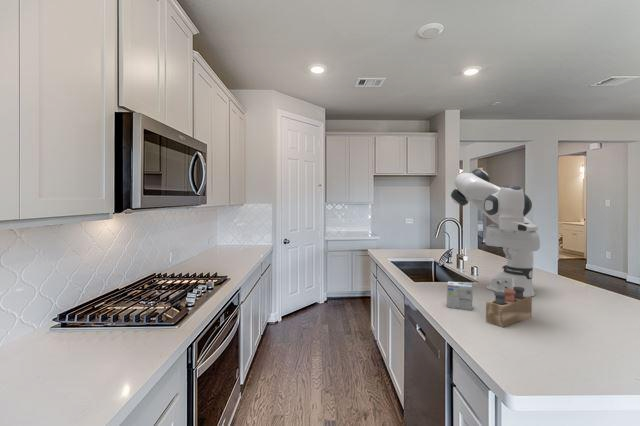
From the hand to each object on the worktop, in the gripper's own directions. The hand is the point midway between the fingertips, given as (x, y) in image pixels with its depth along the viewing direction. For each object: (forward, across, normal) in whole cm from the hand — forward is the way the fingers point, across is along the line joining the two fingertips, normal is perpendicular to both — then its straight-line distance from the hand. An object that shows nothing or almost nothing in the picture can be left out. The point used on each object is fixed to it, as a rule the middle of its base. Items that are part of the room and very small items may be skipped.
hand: (510, 259), depth 131 cm
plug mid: (+21, 0, 0) cm, 21 cm away
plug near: (+21, 0, -7) cm, 22 cm away
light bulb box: (+25, -20, -4) cm, 33 cm away
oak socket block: (+25, 0, 0) cm, 25 cm away
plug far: (+21, 0, +7) cm, 22 cm away
